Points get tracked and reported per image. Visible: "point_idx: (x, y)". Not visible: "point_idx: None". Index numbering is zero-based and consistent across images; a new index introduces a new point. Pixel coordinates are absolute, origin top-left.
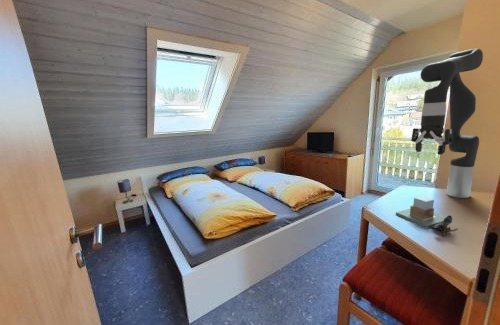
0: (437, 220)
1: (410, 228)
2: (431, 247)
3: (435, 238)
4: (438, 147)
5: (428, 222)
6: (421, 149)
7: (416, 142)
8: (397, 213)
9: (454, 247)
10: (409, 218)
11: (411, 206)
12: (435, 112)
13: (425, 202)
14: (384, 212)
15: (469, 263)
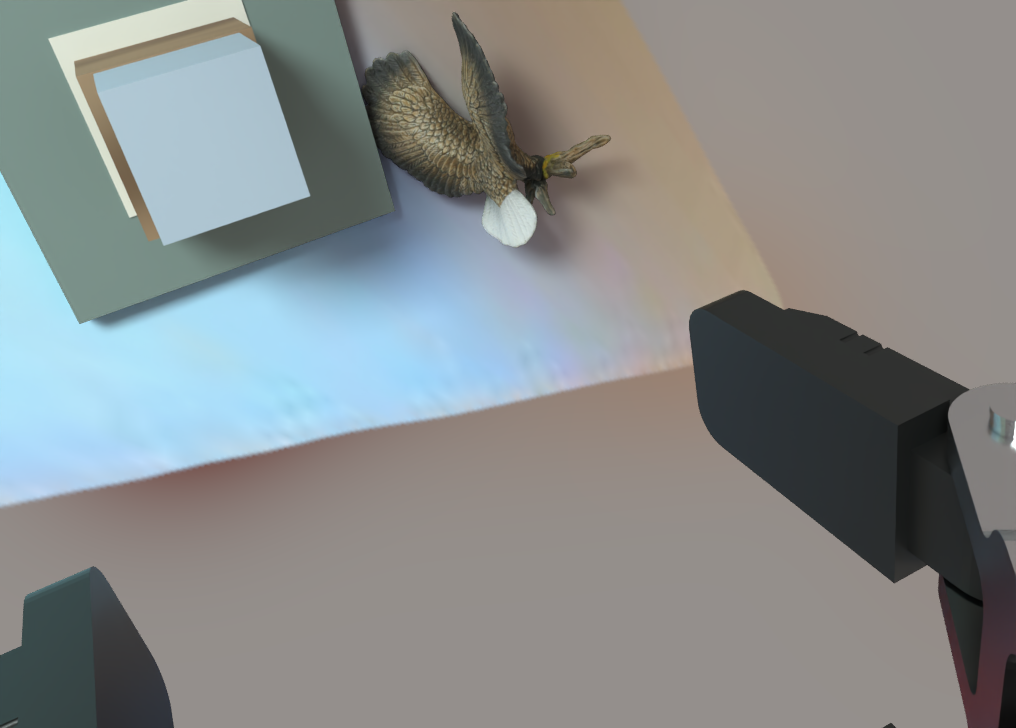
0: (313, 40)
1: (371, 335)
2: (601, 347)
3: (525, 252)
4: (847, 543)
5: (342, 160)
6: (91, 603)
7: None
8: (98, 314)
9: (630, 214)
10: (231, 266)
11: (158, 236)
12: None
13: (305, 194)
14: (15, 398)
15: (747, 258)
